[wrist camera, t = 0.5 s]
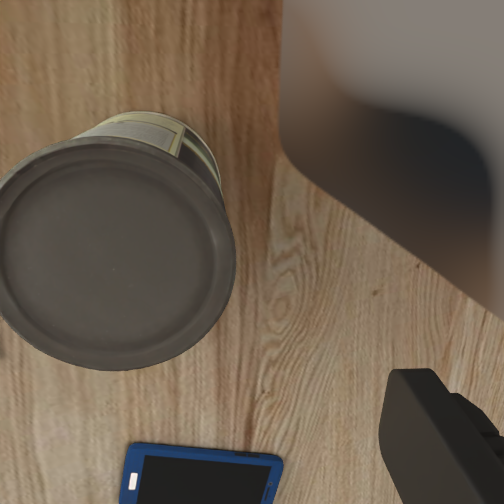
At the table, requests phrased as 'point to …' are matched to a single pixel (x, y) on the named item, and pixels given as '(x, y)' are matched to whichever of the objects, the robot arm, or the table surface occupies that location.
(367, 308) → the table surface
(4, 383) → the table surface
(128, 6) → the table surface
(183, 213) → the coffee can
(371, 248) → the table surface
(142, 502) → the cell phone
